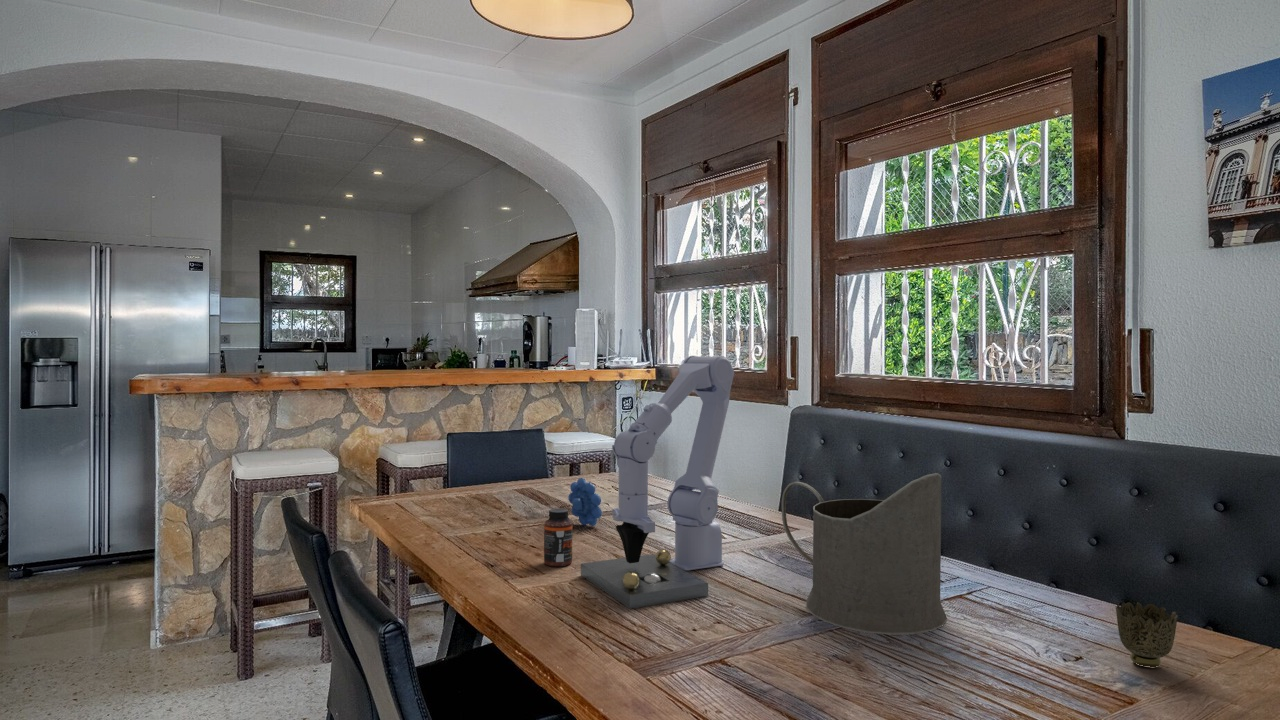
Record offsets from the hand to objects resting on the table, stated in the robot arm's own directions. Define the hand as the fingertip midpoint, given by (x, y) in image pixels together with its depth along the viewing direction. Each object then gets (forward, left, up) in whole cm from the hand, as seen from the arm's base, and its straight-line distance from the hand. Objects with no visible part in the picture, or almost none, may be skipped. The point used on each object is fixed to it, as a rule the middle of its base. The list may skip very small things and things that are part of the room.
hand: (632, 562), depth 149 cm
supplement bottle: (+9, -17, -4) cm, 20 cm away
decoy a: (-6, +1, 0) cm, 6 cm away
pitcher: (-29, +30, -4) cm, 42 cm away
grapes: (-9, -47, -4) cm, 48 cm away
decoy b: (+6, +12, 0) cm, 14 cm away
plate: (0, +4, -3) cm, 5 cm away
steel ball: (0, +8, -2) cm, 8 cm away
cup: (-48, +69, -4) cm, 84 cm away
